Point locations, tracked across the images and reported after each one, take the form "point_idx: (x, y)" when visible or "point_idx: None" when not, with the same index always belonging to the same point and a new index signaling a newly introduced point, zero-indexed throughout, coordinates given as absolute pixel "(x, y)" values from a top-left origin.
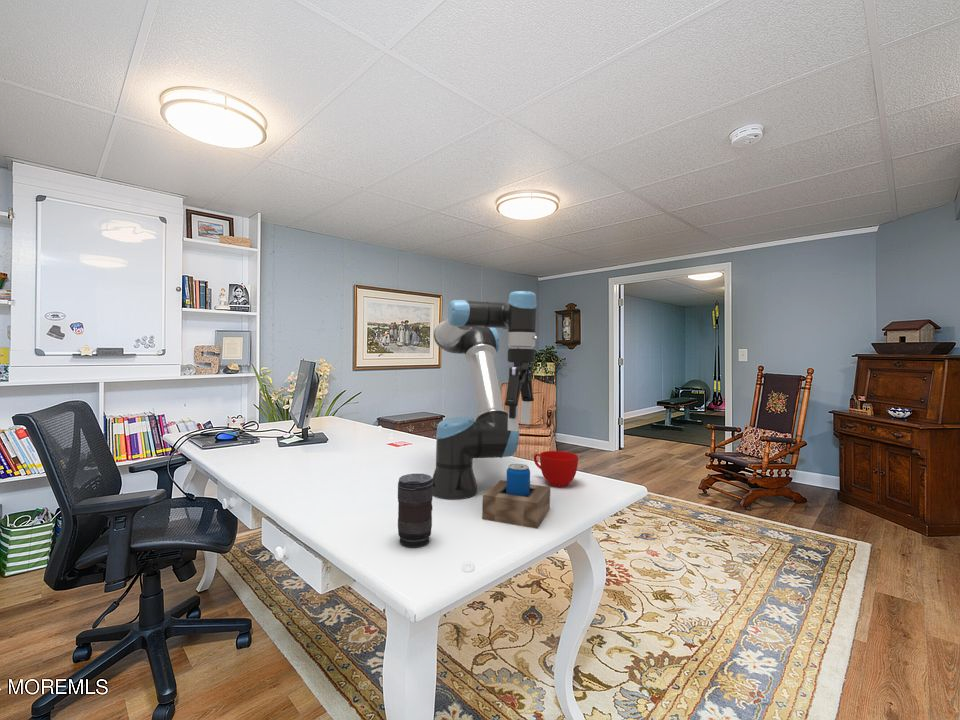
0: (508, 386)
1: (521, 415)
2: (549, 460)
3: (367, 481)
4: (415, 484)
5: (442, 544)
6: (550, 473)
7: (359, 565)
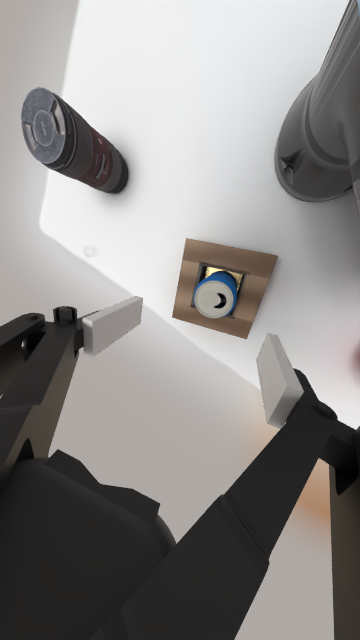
0: None
1: (271, 350)
2: None
3: None
4: (29, 145)
5: (118, 211)
6: None
7: None
